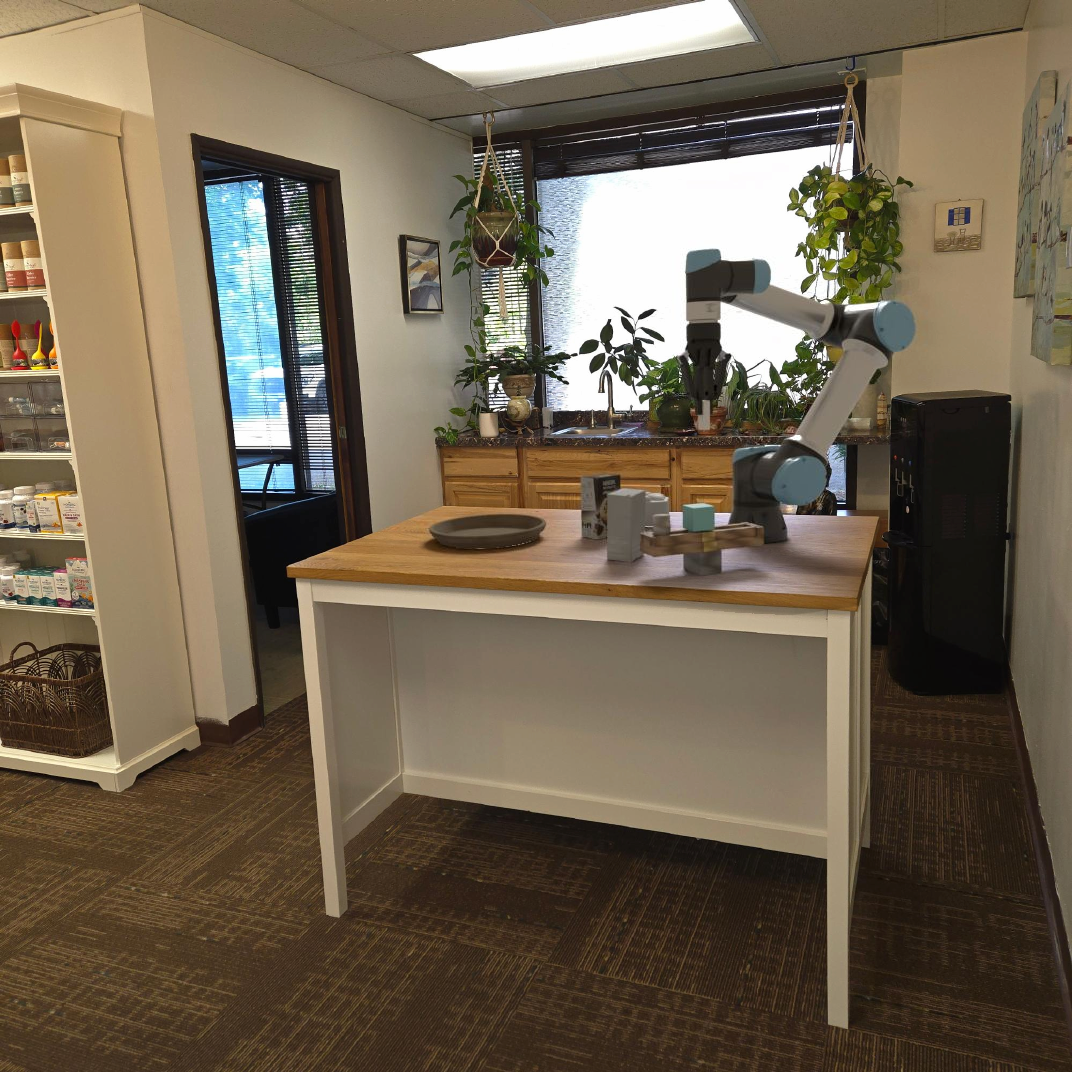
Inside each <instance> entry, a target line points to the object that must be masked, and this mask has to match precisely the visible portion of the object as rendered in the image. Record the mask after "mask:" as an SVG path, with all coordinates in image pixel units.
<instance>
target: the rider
mask: <svg viewBox="0 0 1072 1072" xmlns="http://www.w3.org/2000/svg"><path fill="white" fill-rule="evenodd" d="M715 508H716V506H714V505H711V504H708V503H705V502H702V503H691V504H682V529H687V530H688V533H692V532H702V531H709V530H714V529H715V526H716V524H715V523H716V522H715V519H716V517H715V516H716V513H715Z"/></svg>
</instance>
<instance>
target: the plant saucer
mask: <svg viewBox="0 0 1072 1072" xmlns="http://www.w3.org/2000/svg"><path fill="white" fill-rule="evenodd" d="M546 526H547V521H546V520H545V519H544V518H542V517H539V516H535V515H530V514H524V513H523V514H522V513H520V514H519V513H491V514H490V513H488V514H487V513H486V514H476V515H474V514H473V515H468V516H460V517H453V518H449V519H445V520H441V521H439V522H436V523H433V524H432V525H430V526H429V527H428V531H429V533H430V534H431V536H432V537H433V538H434V539H436V540H437V542H438V543H439V542H440V543H441V544H443V545H446V546H450V547H449V548H451V547H458V548H457V549H459V548H495V549H498V548H497V547H506V546H512V545H518V544H522V543H526V542H529V541H532V542H534V541H535V539H536V540H537V539H538V538H539V537H540V534H541V533H542V532H543V531H545V528H546ZM533 540H534V541H533ZM440 543H439V544H440ZM441 544H440V545H441ZM443 545H442V546H443ZM446 546H445V547H446ZM518 546H519V545H518ZM506 548H507V547H506Z"/></svg>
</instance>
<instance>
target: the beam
mask: <svg viewBox="0 0 1072 1072" xmlns="http://www.w3.org/2000/svg"><path fill="white" fill-rule="evenodd" d="M652 529H653V530H652V531H651V532H646V531H645V532H644V533H640V551H641V552H643V553H645V554H646V555H647V556H649V557H652V558H660V557H668V556H676V555H682V556H683V557H682V558H683V559H682V560H683V565H682V566H683V569H684V570H687V571H689V572H691V573H692V574H696V575H698V576H700V577H702V576H709V575H710V576H711V575H719V573H720V574H723V573H722V572H723V571H722V570H723V569H722V566H723V563H722V561H723V560H722V559H723V558H722V557H723V556H722V555H723V554H722V553H723V551H724V550H731V549H741V548H749V547H750V548H751V547H757V546H758V547H759V546H764V545H765V543H764V527H762V526H759V525H755V524H752V523H748V522H743V523H739V524H729V525H727V524H723V525H715V529H714V530H709V531H702V532H692V533H688V530H687V529H684V528H682V529H681V528H680V529H673V530H672V529H671V514H669V515H668V514H656V515H653V528H652ZM722 550H723V551H722ZM645 554H644V555H645Z"/></svg>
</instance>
